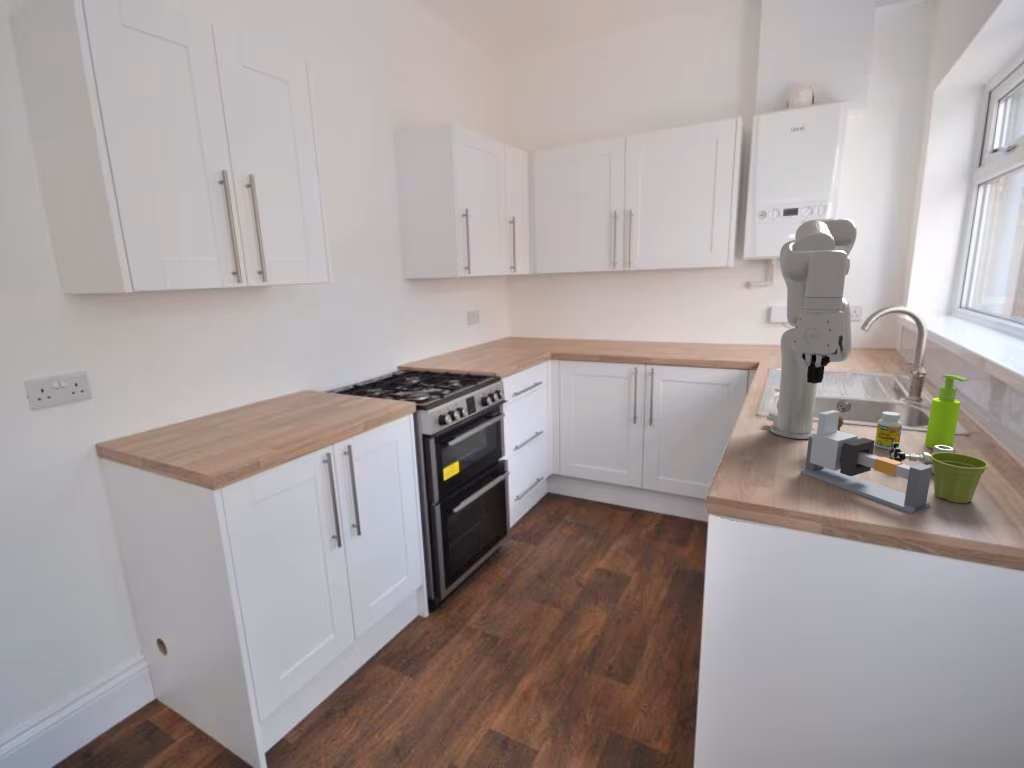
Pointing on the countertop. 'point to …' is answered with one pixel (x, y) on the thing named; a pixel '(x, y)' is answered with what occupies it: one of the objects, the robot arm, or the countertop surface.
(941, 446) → the valve
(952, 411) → the soap dispenser
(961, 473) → the plant pot
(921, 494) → the rail stand
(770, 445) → the countertop surface
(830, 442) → the sleeve
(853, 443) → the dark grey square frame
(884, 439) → the supplement bottle
